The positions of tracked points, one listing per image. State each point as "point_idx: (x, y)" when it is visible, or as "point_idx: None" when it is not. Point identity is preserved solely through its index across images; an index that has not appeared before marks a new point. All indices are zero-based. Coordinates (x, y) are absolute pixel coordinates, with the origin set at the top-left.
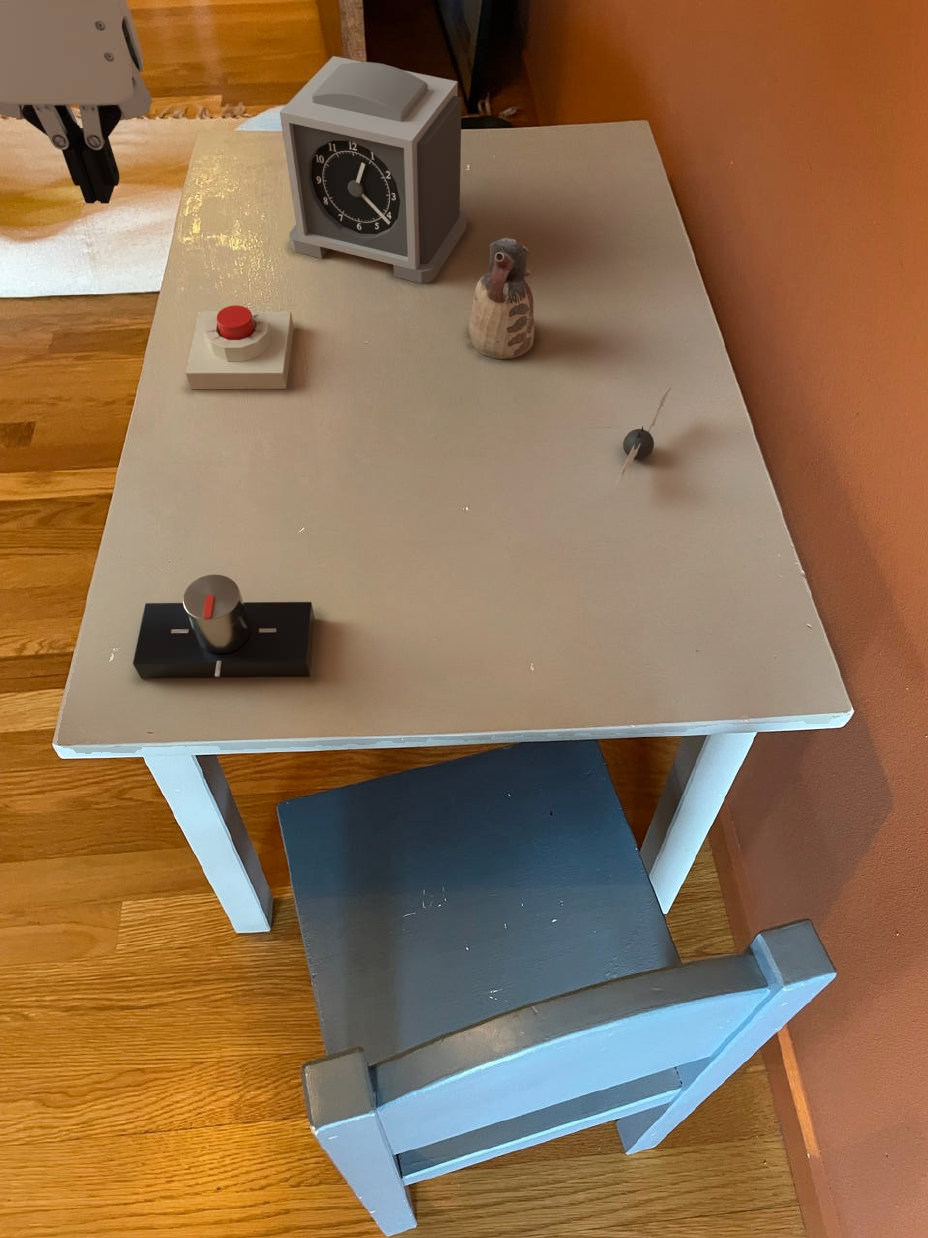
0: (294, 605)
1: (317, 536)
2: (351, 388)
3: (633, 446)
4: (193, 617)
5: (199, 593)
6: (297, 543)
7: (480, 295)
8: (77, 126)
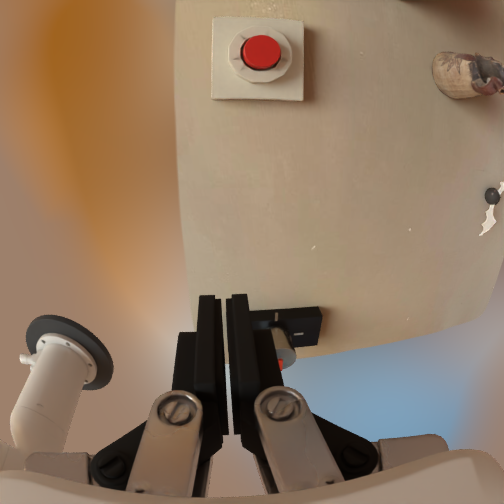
0: (313, 319)
1: (323, 252)
2: (351, 105)
3: (495, 222)
4: None
5: None
6: (310, 258)
7: (465, 76)
8: (215, 426)
